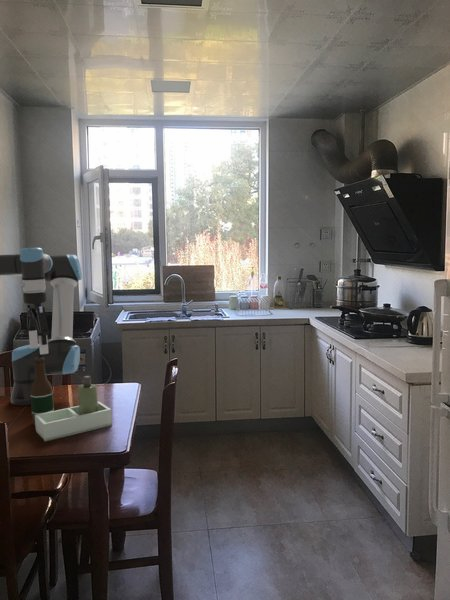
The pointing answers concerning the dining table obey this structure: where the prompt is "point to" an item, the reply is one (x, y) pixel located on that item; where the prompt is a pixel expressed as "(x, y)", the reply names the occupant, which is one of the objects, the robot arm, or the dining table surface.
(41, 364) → the beer bottle
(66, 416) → the caddy
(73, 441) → the dining table surface
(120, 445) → the dining table surface
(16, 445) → the dining table surface
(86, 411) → the olive bottle
